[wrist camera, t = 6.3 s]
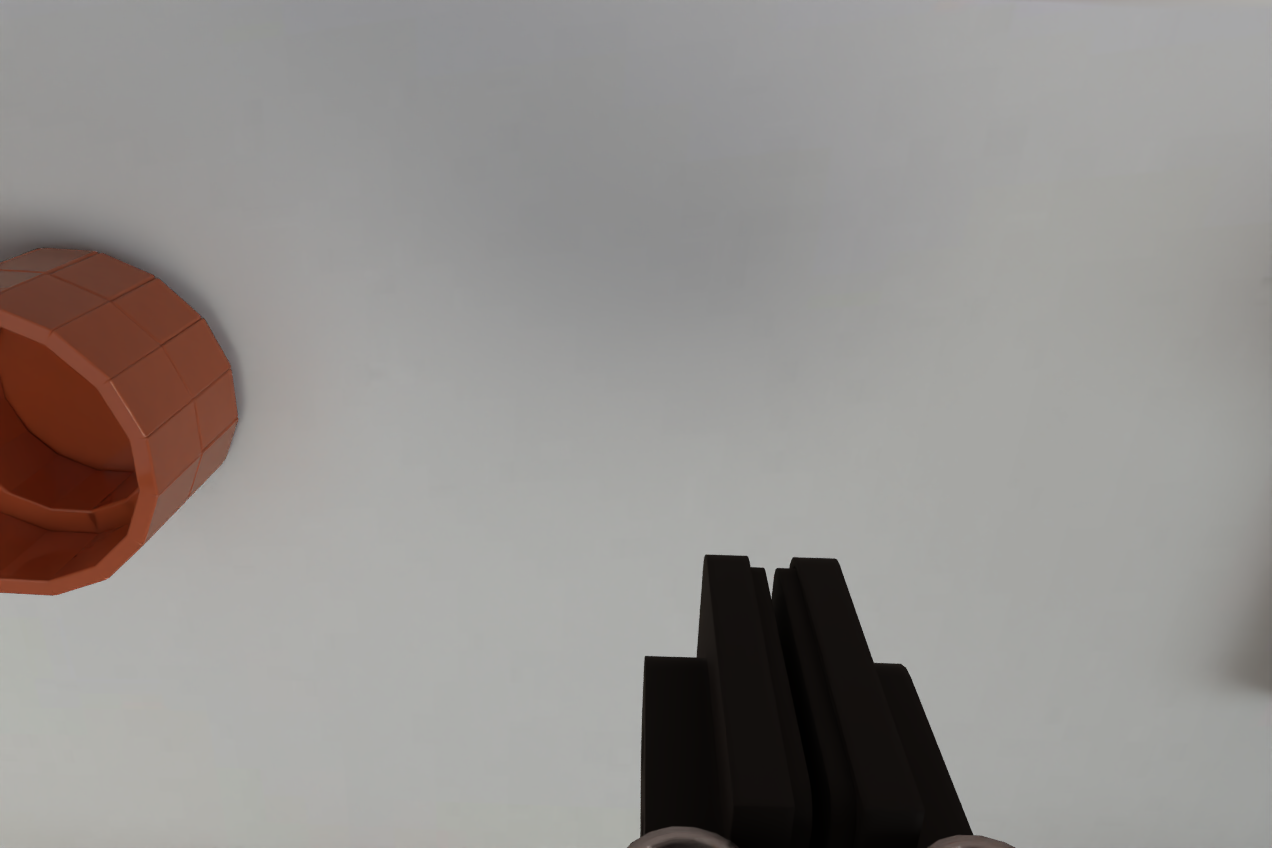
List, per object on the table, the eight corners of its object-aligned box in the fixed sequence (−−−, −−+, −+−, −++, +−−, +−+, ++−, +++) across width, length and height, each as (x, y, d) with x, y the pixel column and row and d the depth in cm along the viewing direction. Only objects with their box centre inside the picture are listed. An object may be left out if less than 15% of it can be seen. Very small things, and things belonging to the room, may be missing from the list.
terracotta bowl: (-61, 235, 21) (-235, 287, 17) (227, 252, 21) (123, 308, 17) (6, 487, 24) (-130, 586, 20) (259, 502, 24) (177, 603, 20)
